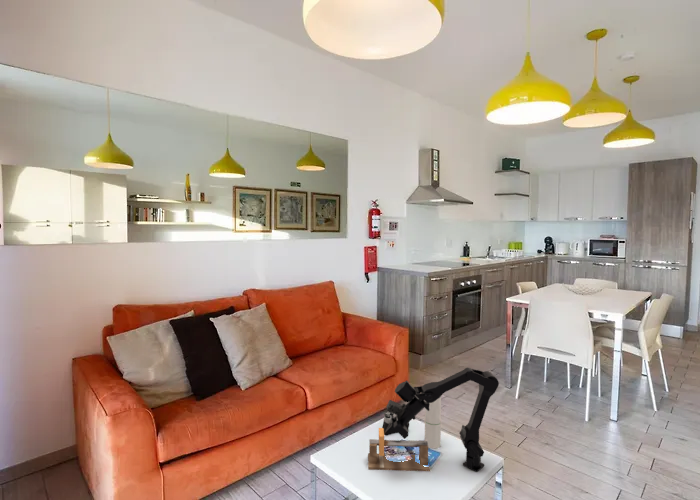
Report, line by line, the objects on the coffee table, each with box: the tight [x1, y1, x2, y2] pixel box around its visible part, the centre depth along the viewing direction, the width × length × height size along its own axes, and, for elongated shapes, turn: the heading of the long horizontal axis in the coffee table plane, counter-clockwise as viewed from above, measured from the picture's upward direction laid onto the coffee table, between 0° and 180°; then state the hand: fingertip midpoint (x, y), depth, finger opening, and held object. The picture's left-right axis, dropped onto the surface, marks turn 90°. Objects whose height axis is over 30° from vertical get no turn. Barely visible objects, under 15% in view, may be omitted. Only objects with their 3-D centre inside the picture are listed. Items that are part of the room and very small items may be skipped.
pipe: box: [370, 439, 428, 448], centre depth 160 cm, size 24×2×2 cm, turn 88°
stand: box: [367, 438, 431, 472], centre depth 160 cm, size 25×10×8 cm, turn 88°
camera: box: [381, 410, 410, 436], centre depth 187 cm, size 15×11×10 cm
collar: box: [378, 427, 385, 456], centre depth 160 cm, size 2×7×8 cm, turn 178°
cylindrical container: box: [424, 396, 442, 450], centre depth 175 cm, size 7×7×25 cm
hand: (384, 434), depth 160 cm, fingers closed
